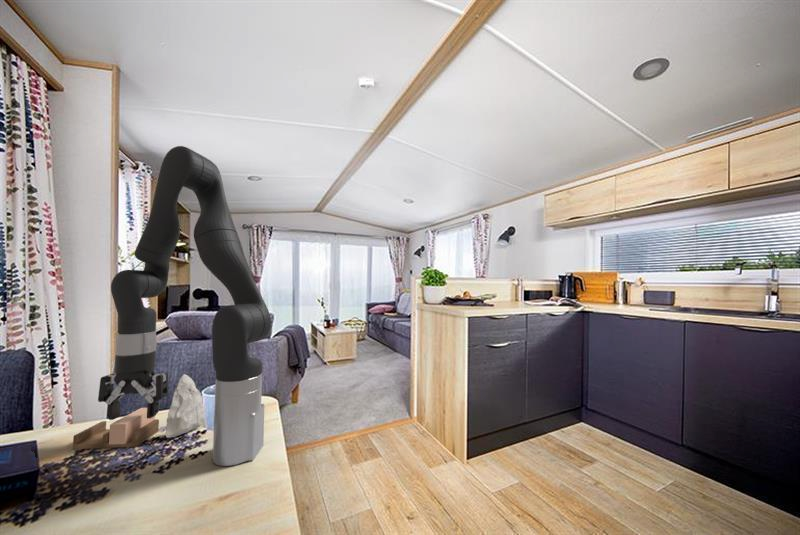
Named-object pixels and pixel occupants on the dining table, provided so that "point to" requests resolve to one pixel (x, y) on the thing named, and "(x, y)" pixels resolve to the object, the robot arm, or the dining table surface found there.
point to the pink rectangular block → (128, 426)
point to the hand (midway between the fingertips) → (132, 417)
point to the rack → (100, 436)
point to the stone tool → (185, 408)
